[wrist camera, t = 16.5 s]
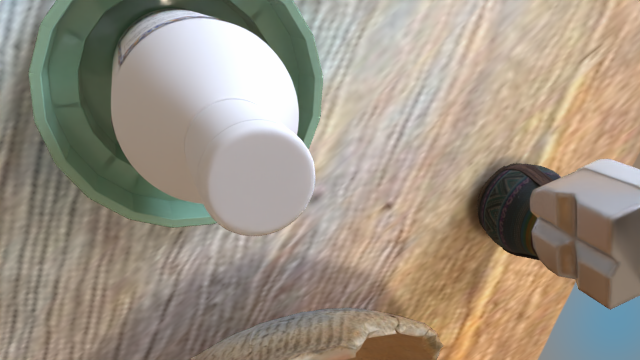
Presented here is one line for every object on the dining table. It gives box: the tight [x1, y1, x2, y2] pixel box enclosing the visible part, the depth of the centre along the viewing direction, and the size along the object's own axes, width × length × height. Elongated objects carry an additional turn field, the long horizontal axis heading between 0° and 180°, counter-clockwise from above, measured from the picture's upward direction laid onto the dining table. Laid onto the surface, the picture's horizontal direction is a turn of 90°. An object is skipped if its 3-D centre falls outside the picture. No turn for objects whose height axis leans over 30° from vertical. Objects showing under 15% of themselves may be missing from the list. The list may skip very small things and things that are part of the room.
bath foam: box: [111, 8, 315, 236], centre depth 21 cm, size 7×7×20 cm
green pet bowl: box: [28, 0, 323, 228], centre depth 28 cm, size 14×14×6 cm
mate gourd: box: [478, 163, 561, 260], centre depth 38 cm, size 7×8×10 cm
